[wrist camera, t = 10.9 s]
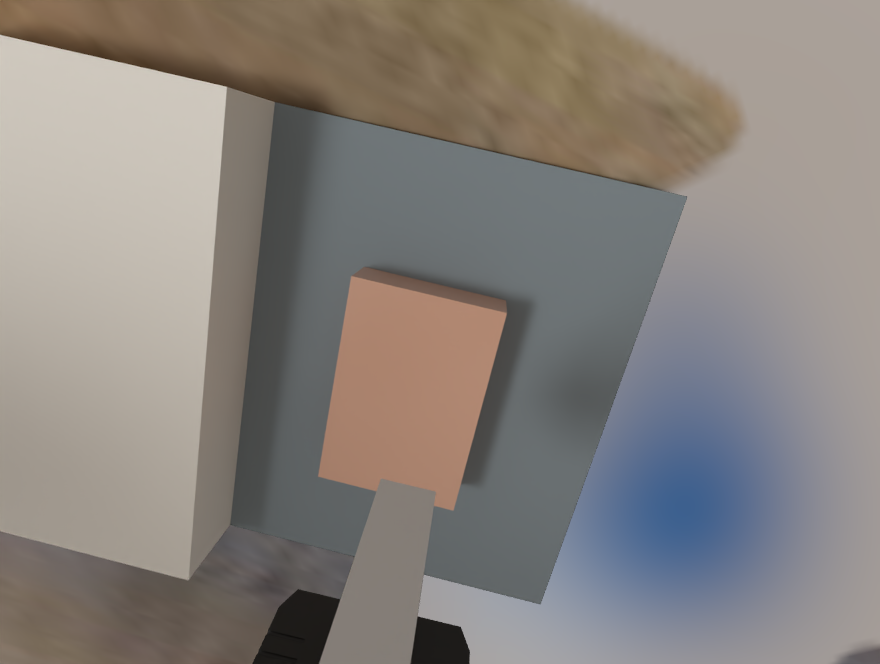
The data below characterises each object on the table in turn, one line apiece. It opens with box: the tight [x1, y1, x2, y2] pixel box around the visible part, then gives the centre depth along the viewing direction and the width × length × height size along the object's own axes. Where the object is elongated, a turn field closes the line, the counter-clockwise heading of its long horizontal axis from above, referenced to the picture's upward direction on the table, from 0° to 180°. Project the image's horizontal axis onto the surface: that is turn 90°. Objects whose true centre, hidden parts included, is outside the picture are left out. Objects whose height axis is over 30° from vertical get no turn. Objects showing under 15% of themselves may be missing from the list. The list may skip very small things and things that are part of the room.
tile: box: [318, 267, 507, 511], centre depth 22 cm, size 9×6×2 cm, turn 168°
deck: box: [0, 35, 275, 580], centre depth 21 cm, size 20×12×4 cm, turn 168°
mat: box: [230, 102, 687, 604], centre depth 23 cm, size 20×16×1 cm
